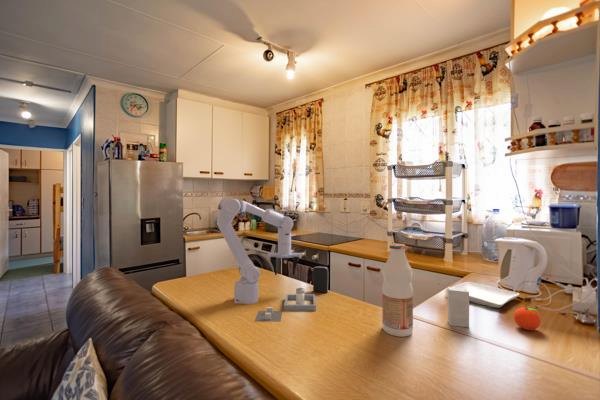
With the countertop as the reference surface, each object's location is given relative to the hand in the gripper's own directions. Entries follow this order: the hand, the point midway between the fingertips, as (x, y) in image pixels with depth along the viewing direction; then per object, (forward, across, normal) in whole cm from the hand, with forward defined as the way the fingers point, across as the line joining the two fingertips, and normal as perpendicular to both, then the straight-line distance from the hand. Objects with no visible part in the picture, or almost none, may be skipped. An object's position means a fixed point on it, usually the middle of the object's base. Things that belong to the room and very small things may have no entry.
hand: (284, 274), depth 128 cm
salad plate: (+10, +84, -2) cm, 85 cm away
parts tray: (+9, +7, -12) cm, 17 cm away
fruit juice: (+10, +39, -32) cm, 51 cm away
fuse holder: (+9, -4, -23) cm, 25 cm away
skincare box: (+10, +61, -27) cm, 67 cm away
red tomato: (+10, +82, -31) cm, 88 cm away
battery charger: (+10, +16, +6) cm, 20 cm away
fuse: (+9, +7, -12) cm, 17 cm away
